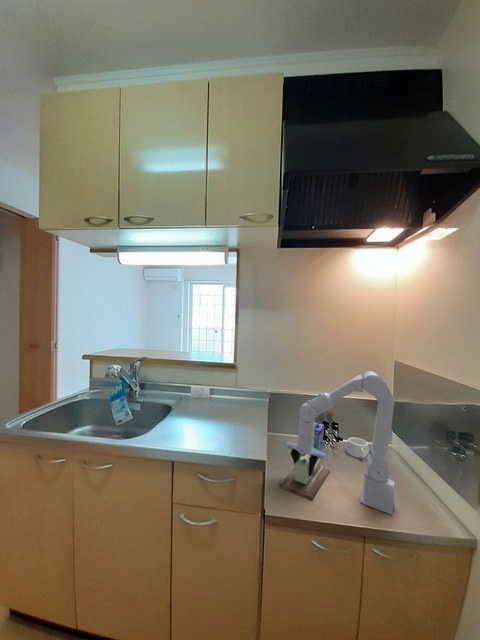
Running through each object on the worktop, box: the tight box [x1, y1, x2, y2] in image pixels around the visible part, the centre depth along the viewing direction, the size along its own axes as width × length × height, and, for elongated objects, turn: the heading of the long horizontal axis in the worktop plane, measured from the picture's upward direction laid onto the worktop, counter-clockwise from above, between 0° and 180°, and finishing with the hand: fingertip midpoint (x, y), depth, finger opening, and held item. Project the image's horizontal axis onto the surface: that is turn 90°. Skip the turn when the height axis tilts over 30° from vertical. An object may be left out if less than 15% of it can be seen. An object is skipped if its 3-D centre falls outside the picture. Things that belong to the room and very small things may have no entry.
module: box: [294, 455, 312, 484], centre depth 103 cm, size 4×7×7 cm, turn 147°
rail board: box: [279, 454, 331, 501], centre depth 106 cm, size 12×22×8 cm, turn 147°
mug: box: [346, 436, 370, 459], centre depth 128 cm, size 12×10×6 cm
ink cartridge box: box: [313, 421, 325, 452], centre depth 128 cm, size 10×6×14 cm, turn 152°
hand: (303, 472), depth 103 cm, fingers closed on module, 4 cm apart
